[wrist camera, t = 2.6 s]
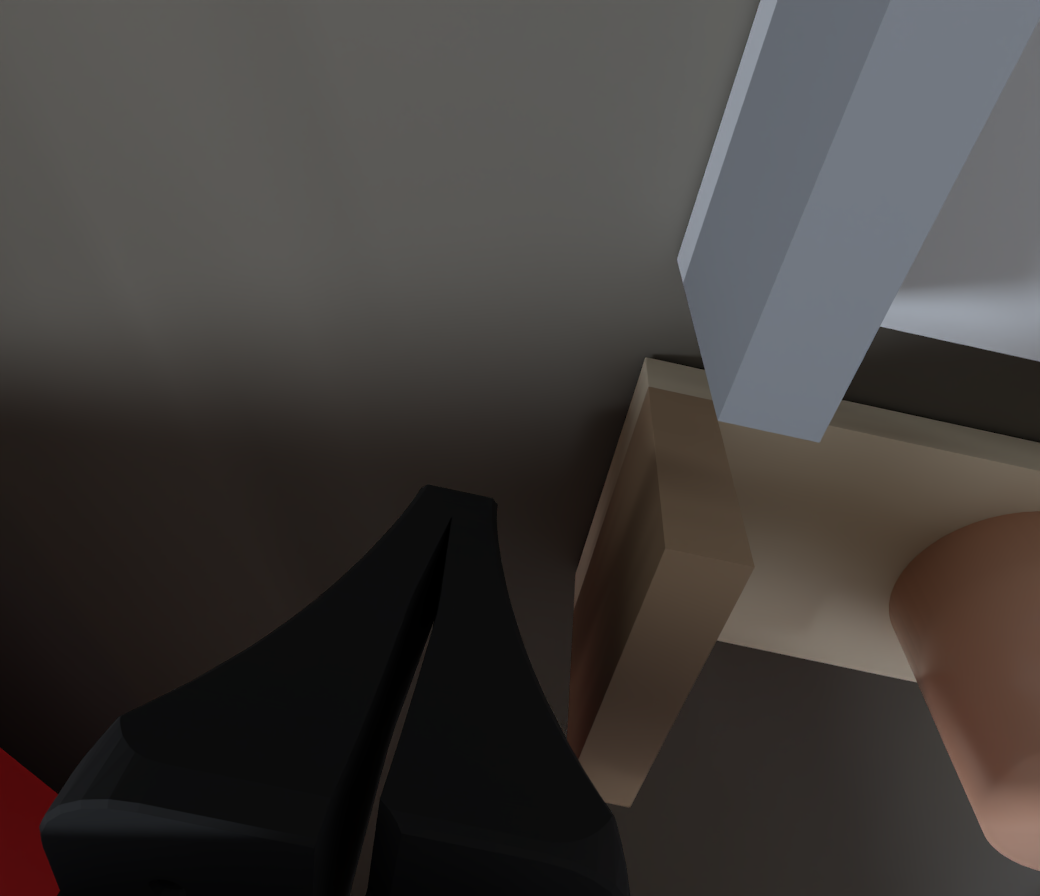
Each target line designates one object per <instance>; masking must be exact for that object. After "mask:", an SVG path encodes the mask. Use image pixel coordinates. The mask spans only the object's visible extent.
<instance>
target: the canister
mask: <svg viewBox="0 0 1040 896" xmlns="http://www.w3.org/2000/svg"><path fill="white" fill-rule="evenodd" d="M889 617H890V621H891V624H892V627H893V629H894V631H895V634H896V636H897V638H898V640H899V643H900V645H901V647H902V649H903V652H904V654H905V656H906V659H907V661H908V663H909V665H910V668H911V670H912V672H913V674H914V677H915V679H916V681H917V683H918V686H919V688H920V690H921V693H922V695H923V697H924V699H925V702H926V704H927V706H928V708H929V711H930V713H931V715H932V717H933V720H934V722H935V724H936V727H937V729H938V731H939V733H940V736H941V738H942V740H943V742H944V745H945V747H946V749H947V752H948V754H949V756H950V758H951V761H952V763H953V765H954V767H955V770H956V772H957V774H958V776H959V779H960V781H961V783H962V786H963V788H964V790H965V792H966V795H967V797H968V799H969V801H970V804H971V806H972V808H973V810H974V813H975V815H976V817H977V820H978V822H979V824H980V826H981V829H982V831H983V833H984V835H985V837H986V839H987V840H988V841H989V843H990V844H991V845H992V846H993V847H994V848H995V849H996V850H997V851H998V852H999V853H1001V854H1002V855H1004V856H1005V857H1007V858H1009V859H1010V860H1012V861H1014V862H1016V863H1019V864H1021V865H1023V866H1026V867H1029V868H1032V869H1034V870H1037V871H1040V511H1035V512H1020V513H1012V514H1005V515H1001V516H996V517H992V518H988V519H985V520H982V521H978V522H975V523H972V524H970V525H967V526H965V527H962V528H960V529H957V530H956V531H954V532H952V533H950V534H948V535H946V536H944V537H942V538H941V539H939V540H937V541H936V542H934V543H933V544H931V545H930V546H928V547H927V548H926V549H925V550H923V551H922V552H921V553H919V554H918V555H917V556H916V557H915V558H914V559H913V560H912V561H911V562H910V563H909V564H908V565H907V567H906V568H905V569H904V570H903V572H902V573H901V574H900V576H899V578H898V579H897V581H896V583H895V585H894V587H893V590H892V592H891V596H890V601H889Z"/></svg>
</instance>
